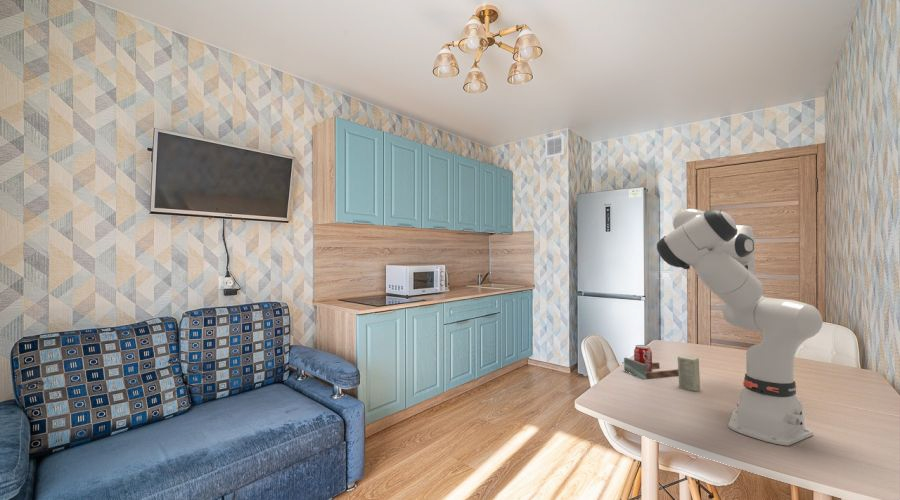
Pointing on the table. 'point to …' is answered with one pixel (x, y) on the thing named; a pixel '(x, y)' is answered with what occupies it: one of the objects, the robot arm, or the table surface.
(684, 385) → the skincare box
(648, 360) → the soda can
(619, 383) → the table surface
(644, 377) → the can dock
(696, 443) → the table surface
